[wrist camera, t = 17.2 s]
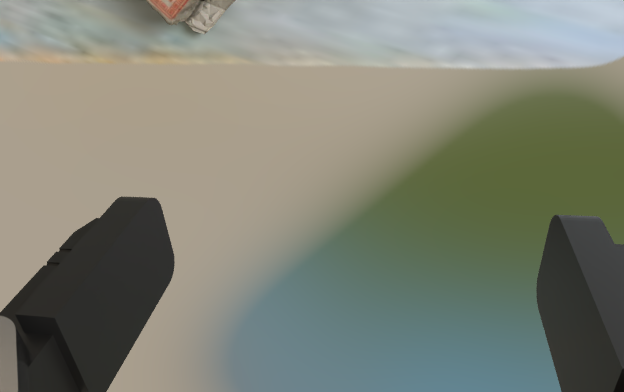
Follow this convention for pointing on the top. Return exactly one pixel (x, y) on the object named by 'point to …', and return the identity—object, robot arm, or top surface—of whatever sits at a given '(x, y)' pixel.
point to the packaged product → (191, 12)
